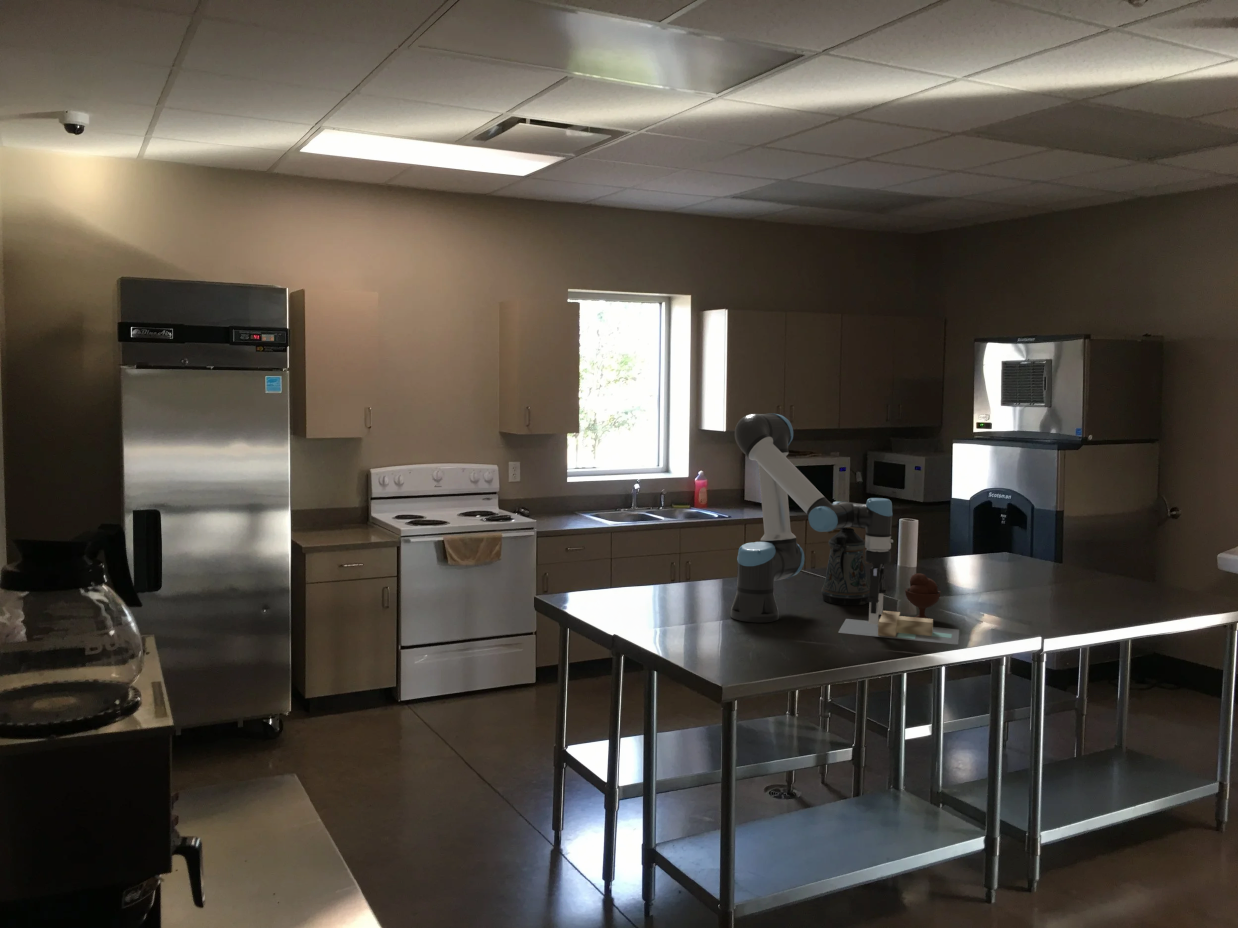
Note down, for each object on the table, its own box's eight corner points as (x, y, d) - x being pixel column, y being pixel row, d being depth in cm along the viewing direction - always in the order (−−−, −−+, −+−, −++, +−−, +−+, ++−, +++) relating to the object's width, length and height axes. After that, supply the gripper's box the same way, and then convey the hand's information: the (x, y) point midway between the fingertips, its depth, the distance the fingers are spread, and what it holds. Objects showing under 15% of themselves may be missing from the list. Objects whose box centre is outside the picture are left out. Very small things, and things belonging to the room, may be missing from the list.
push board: (837, 633, 298) (837, 632, 298) (845, 619, 316) (845, 618, 316) (958, 645, 286) (958, 644, 286) (959, 630, 304) (959, 629, 304)
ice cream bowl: (916, 625, 310) (918, 577, 309) (897, 617, 321) (899, 571, 320) (946, 623, 313) (948, 576, 312) (926, 615, 324) (928, 569, 323)
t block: (877, 635, 295) (878, 621, 295) (883, 623, 310) (883, 610, 310) (930, 640, 290) (931, 626, 290) (933, 627, 305) (934, 615, 305)
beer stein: (866, 596, 352) (869, 525, 350) (874, 608, 333) (877, 534, 331) (818, 594, 354) (821, 524, 352) (824, 606, 335) (827, 532, 333)
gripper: (887, 556, 288) (884, 629, 290) (894, 544, 312) (892, 611, 313) (860, 555, 291) (858, 626, 293) (869, 542, 314) (867, 609, 316)
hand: (875, 618), depth 303 cm, fingers open, 13 cm apart
